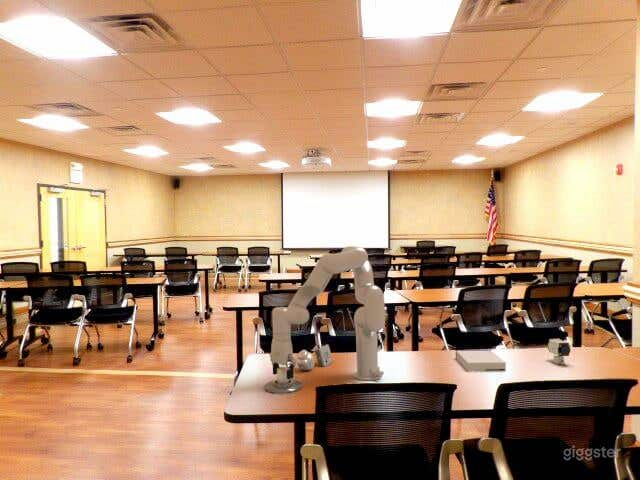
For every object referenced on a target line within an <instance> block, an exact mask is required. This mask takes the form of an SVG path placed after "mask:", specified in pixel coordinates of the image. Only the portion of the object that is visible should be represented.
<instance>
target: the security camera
mask: <svg viewBox="0 0 640 480" xmlns="http://www.w3.org/2000/svg"><path fill="white" fill-rule="evenodd" d="M547 350H548V352H549V353H551V354H554V355H553V363H554V364H557V365H565V357H570V353H571V347H570V343H569V342H567V341H565V340H562V339H560V338H559V337H558V338H549V339H548V342H547Z"/></svg>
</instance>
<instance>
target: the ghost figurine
mask: <svg viewBox="0 0 640 480" xmlns="http://www.w3.org/2000/svg"><path fill="white" fill-rule="evenodd" d="M315 364H316V357H315V356H314V354H313V353H311V352H309V351H307V350H306V349H302V350H301V351H299V352H298V354H297V358H296V365H297V367H298V368H299V369H300V370H302V371H304V370H308V371H310V370H312V369H313V368H314V367H315Z"/></svg>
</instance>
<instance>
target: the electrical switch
mask: <svg viewBox="0 0 640 480" xmlns="http://www.w3.org/2000/svg"><path fill="white" fill-rule="evenodd" d="M329 345H330V344H324V345H323V346H321V347H319V348H318V349H316V350H314V354H315V358H316V361H317V364H318V367H321V366H322V367H323V368H325V367H328V366H329V365H331V364H332V363H333V362H334V359H333V356H332V353H331V349H330V346H329Z"/></svg>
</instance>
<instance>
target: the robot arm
mask: <svg viewBox="0 0 640 480" xmlns="http://www.w3.org/2000/svg"><path fill="white" fill-rule="evenodd" d="M351 270H352V272H353V279H354V295H355V296H354V297H355V299H356V301H357V302H358V303H360V304H361V305H363V306H361V307H358V308H357V309H356V311H355V313H354V314H353V315H354V317H353V321H354V327H355V338H356V339H355V342H356V343H355V344H356V345H355V347H356V348H355V349H356V371H355V372H354V373H353V378H354V379H356V380H360V381H377V380H379V379H380V378H382V377H383V375H384V374H385V373H384V371H382V370H381V368H380V366H379V362H378V360H379V359H378V358H379V357H378V334H377V332H380V331H382V329H383V328H384V326H385V322H386V308H385V295H384V293H383V290H382V289H381V288H380V287H379V286H378V285H375V282H374V273H373V272H374V271H373V267H372V265H371V263H370V261H369V255H368V252H367V250H366V249H365V248H363V247H360V246H352V245H351V246H345V247H344V248H343V249H342V250H341V251H340V252H337V253H324V254H322V256H320V257H319V259H318V261H317V262H316V264H315V266H314V267H313V270H312V271H311V273H310V275H308V278H307V279H306V281H305V282H304V283H303V284H302V286H301V287H300V288H299V289H298V290H297V292H295V294H294V295H293V297H292V299H291V300H290V303H289V304H288V306H277V307H274V308H273V309H272V311H271V314H272V341H271V345H270V346H271V348H270V353H269V357H270V362H271V365H272V375H277V368H279V367H280V365H282V366H285V367H287V369H288V370H287V379H291V380H292V379H294V369H295V367H296V365H297V358H295V357H294V353H293V351H294V350H293V344H292V339H291V338H292V336H291V331H292V330H291V325H303V324H306V323H307V322H308V321H309V319H310V313H309V310H308V309H307V307H308V304H309V303H310V302H311V301H312V300H313V299H314V298H315V297H317V296H318V295H320V294H321V293H323V292H324V291H325V288H326V287H327V286H328V284H329V282H330V280H331V278H332V277H333V275H334V274H335V275H336V274H341V273H344V272H348V271H351Z"/></svg>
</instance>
